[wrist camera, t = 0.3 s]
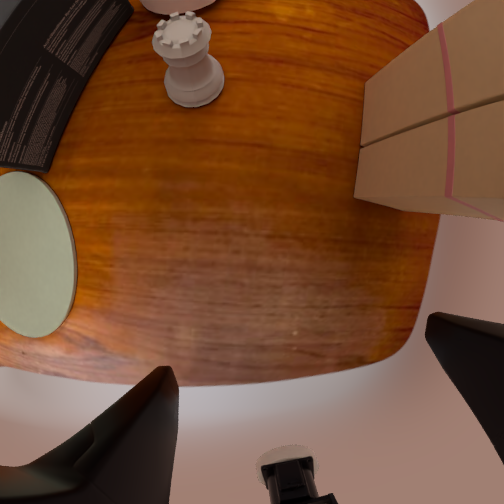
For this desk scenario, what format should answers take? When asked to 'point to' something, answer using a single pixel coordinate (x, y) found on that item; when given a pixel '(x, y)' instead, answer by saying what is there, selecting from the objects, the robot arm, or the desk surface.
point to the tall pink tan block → (439, 74)
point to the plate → (34, 256)
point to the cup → (174, 5)
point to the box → (48, 70)
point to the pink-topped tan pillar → (440, 166)
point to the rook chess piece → (188, 60)
